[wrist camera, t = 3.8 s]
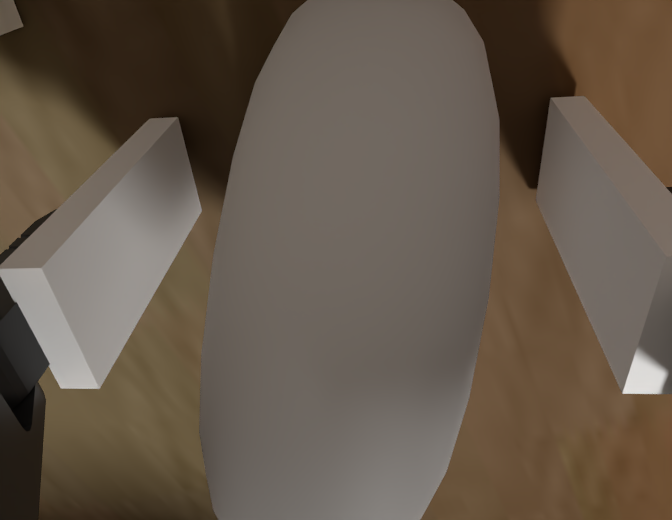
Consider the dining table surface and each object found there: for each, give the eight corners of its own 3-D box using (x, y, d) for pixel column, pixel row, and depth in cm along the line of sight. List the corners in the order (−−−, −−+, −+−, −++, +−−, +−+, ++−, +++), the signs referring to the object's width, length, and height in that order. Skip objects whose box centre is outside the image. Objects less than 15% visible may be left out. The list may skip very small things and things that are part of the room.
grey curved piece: (311, -72, 11) (97, 47, 3) (477, -48, 11) (708, 135, 3) (283, 298, 17) (182, 684, 9) (392, 314, 17) (393, 715, 9)
